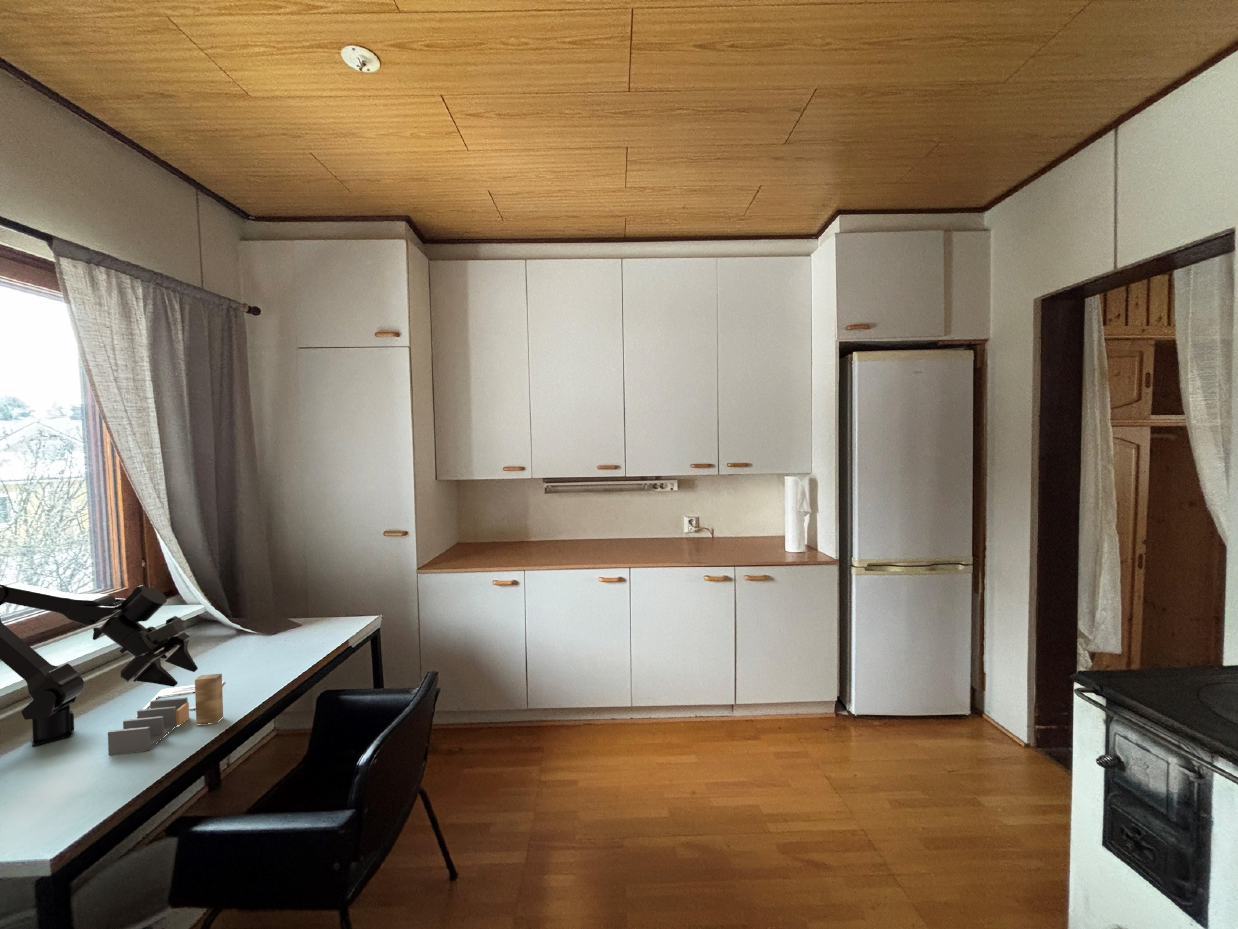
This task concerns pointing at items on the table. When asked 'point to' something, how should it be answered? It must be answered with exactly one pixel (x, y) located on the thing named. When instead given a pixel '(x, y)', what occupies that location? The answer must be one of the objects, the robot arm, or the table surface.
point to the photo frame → (175, 693)
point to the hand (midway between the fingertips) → (186, 677)
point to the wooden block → (208, 698)
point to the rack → (148, 726)
